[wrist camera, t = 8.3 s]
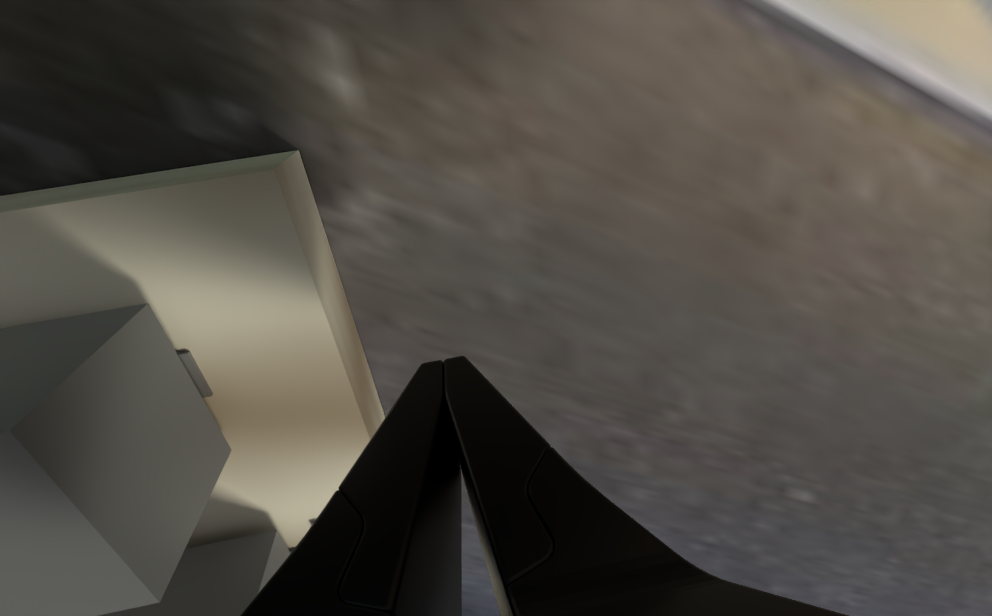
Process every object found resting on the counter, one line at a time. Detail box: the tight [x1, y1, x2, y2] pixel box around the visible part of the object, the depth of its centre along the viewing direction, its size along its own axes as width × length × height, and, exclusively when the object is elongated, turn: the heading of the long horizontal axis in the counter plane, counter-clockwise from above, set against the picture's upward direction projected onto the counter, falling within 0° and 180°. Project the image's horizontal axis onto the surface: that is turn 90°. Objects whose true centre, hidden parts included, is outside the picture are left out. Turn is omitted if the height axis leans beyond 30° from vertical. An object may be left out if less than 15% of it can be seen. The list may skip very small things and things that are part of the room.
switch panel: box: [0, 150, 385, 553], centre depth 14 cm, size 22×20×2 cm
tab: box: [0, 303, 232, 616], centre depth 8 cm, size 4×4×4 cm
